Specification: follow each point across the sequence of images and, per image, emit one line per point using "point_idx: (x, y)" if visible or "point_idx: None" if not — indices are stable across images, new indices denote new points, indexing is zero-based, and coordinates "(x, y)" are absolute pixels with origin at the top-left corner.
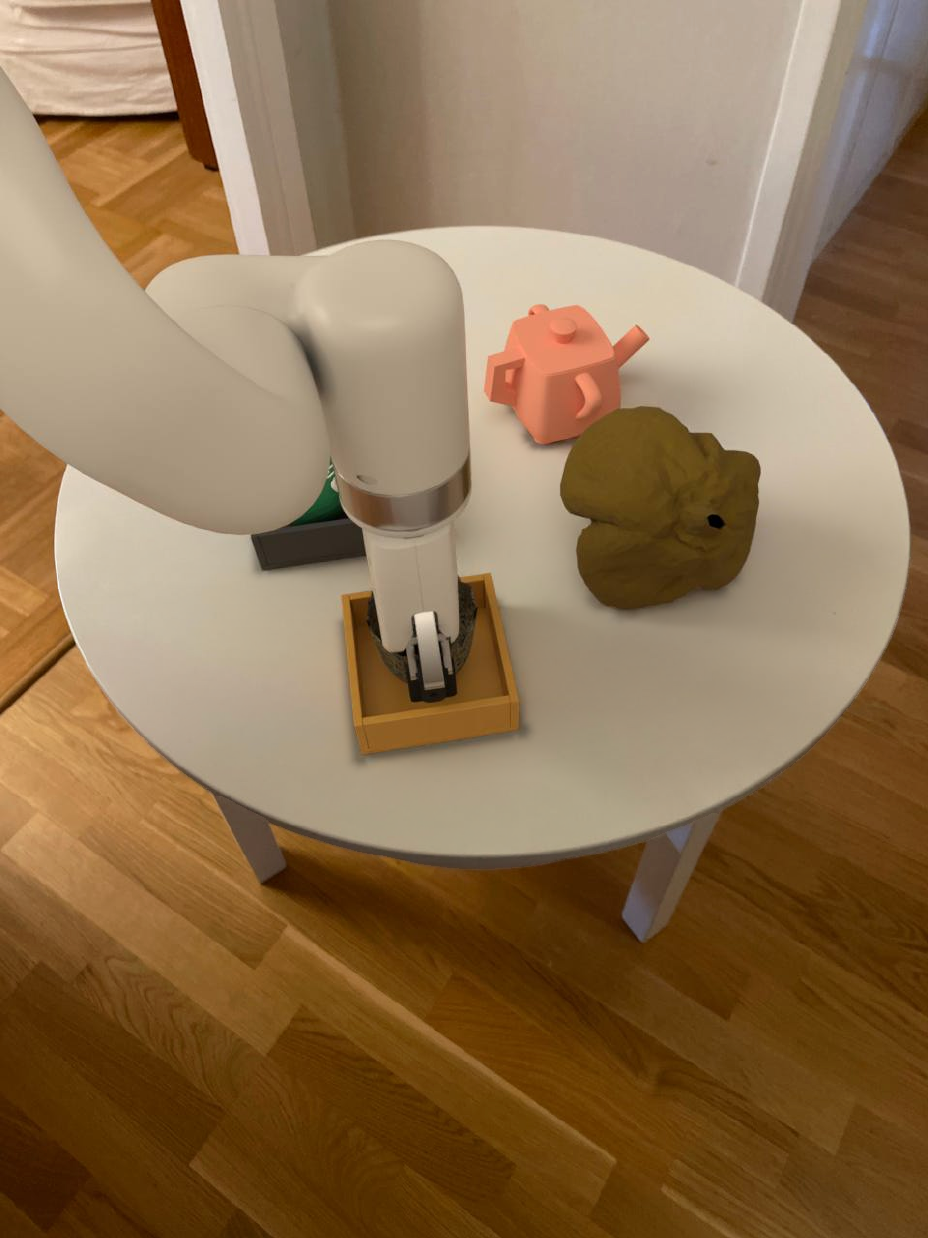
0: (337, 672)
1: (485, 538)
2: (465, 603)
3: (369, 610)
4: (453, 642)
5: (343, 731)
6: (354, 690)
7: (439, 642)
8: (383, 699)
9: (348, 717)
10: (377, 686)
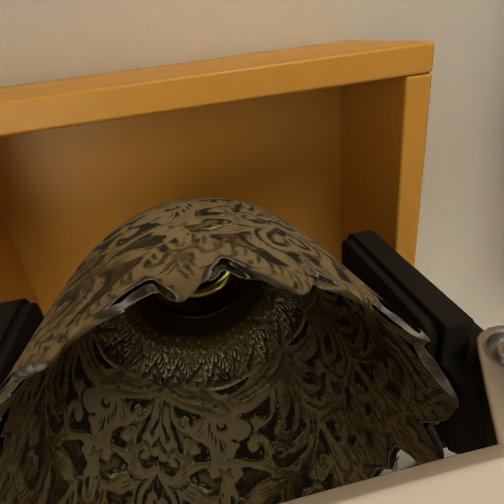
0: (207, 9)
1: (493, 317)
2: (290, 481)
3: (258, 275)
4: (238, 341)
5: (5, 35)
6: (2, 117)
7: (245, 306)
8: (108, 155)
9: (56, 50)
10: (149, 137)
